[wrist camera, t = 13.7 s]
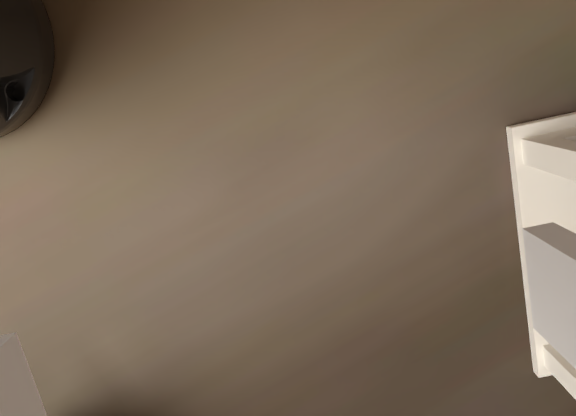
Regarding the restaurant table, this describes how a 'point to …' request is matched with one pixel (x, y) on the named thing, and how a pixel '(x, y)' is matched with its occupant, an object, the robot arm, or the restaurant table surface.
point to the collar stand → (544, 209)
